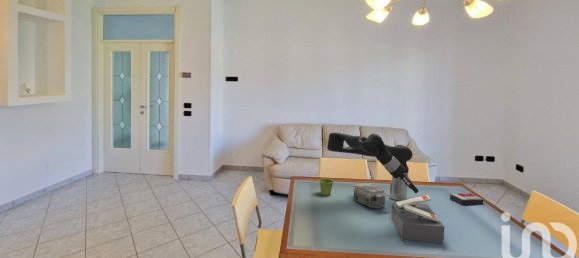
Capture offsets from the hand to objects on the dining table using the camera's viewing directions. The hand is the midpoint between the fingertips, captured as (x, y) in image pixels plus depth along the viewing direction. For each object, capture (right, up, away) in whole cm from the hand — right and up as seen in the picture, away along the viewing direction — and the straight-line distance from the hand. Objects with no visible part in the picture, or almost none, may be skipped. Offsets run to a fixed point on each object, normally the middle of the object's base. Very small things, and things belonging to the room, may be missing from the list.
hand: (417, 191), depth 173 cm
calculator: (+43, -13, +36) cm, 58 cm away
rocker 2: (-4, -7, -14) cm, 16 cm away
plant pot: (-42, -10, +43) cm, 61 cm away
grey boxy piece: (-18, -12, +29) cm, 36 cm away
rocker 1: (-2, -5, +1) cm, 5 cm away
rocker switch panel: (-3, -17, -5) cm, 18 cm away
